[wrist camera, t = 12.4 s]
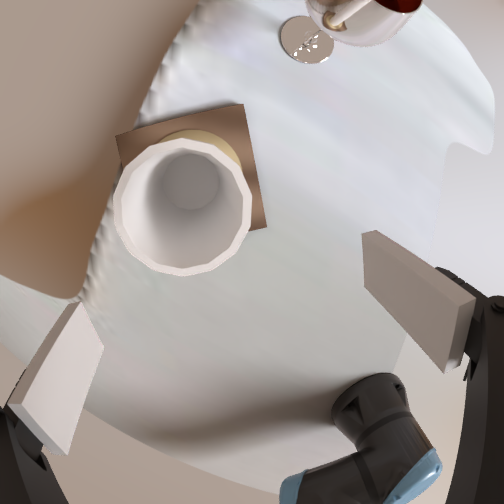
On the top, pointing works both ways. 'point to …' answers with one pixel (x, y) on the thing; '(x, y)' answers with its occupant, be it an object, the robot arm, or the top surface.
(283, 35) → the wineglass
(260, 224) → the stand board
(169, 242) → the foam cup
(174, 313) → the top surface
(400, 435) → the robot arm
